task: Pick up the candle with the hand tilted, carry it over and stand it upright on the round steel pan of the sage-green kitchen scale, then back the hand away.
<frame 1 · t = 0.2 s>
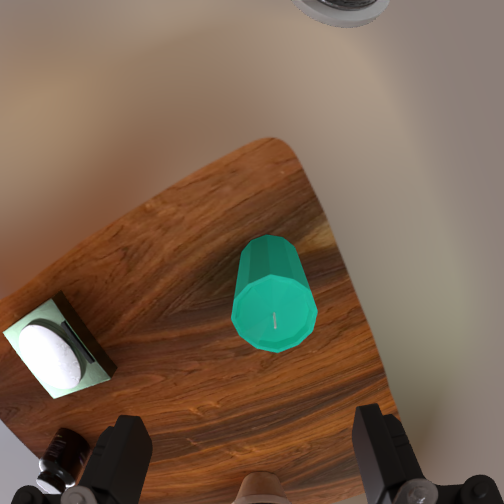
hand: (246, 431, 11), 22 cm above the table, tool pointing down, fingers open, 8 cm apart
potted plant: (260, 478, 44), on the table
scale: (59, 345, 36), on the table
supplement bottle: (74, 439, 43), on the table
candle: (269, 263, 32), on the table
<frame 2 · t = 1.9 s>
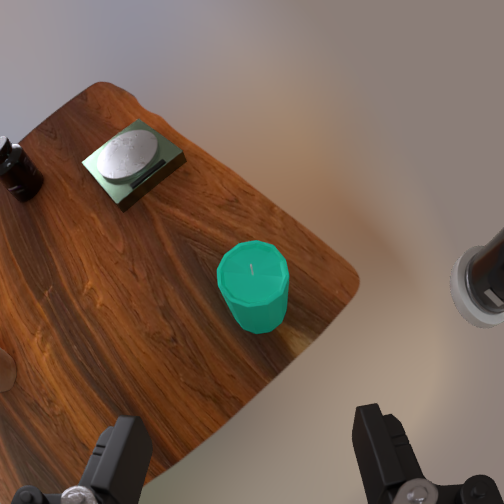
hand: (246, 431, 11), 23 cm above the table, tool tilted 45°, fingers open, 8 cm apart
potted plant: (5, 371, 34), on the table
scale: (133, 166, 47), on the table
supplement bottle: (31, 188, 49), on the table
candle: (259, 308, 36), on the table
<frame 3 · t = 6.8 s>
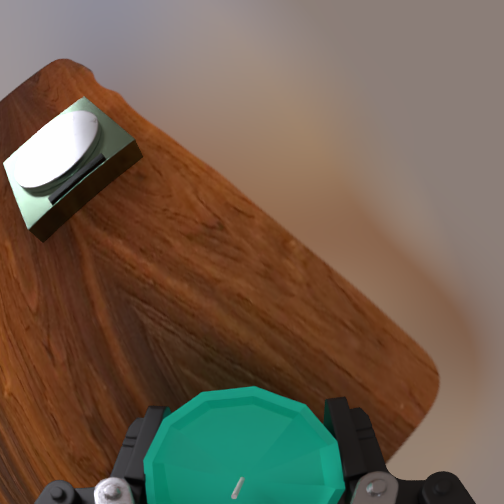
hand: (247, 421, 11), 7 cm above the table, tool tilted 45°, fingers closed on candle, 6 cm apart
scale: (68, 166, 28), on the table
candle: (260, 440, 17), on the table, touching gripper
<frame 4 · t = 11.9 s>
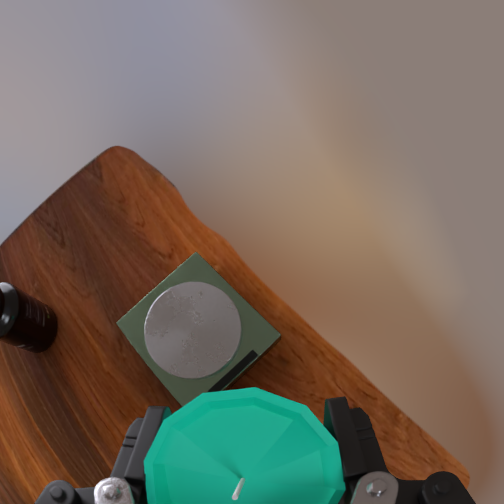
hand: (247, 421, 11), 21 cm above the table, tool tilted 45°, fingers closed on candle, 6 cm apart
scale: (198, 335, 34), on the table
supplement bottle: (41, 329, 35), on the table
candle: (259, 441, 17), point 14 cm above the table, touching gripper
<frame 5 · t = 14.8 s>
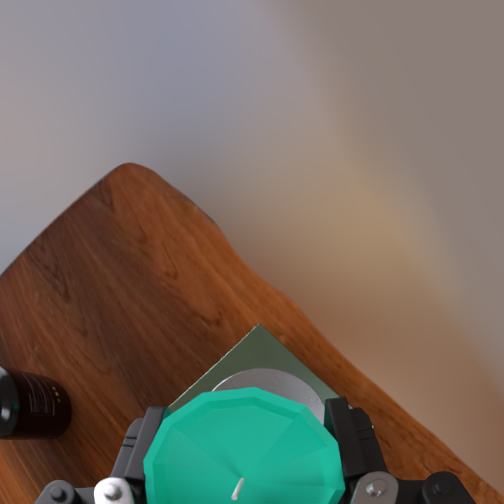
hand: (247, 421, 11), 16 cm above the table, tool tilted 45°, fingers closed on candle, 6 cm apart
scale: (264, 427, 24), on the table
supplement bottle: (50, 408, 26), on the table
candle: (259, 441, 17), point 8 cm above the table, touching gripper
when the fingers open (11 cm above the table, at t = 16.8 s): candle stays where it is, resting on scale.
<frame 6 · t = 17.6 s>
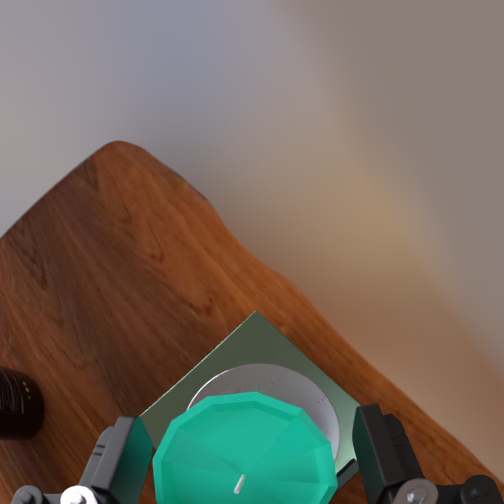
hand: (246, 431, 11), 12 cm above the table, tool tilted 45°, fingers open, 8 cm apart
scale: (262, 434, 20), on the table
supplement bottle: (23, 406, 22), on the table
candle: (259, 441, 18), point 3 cm above the table, touching scale
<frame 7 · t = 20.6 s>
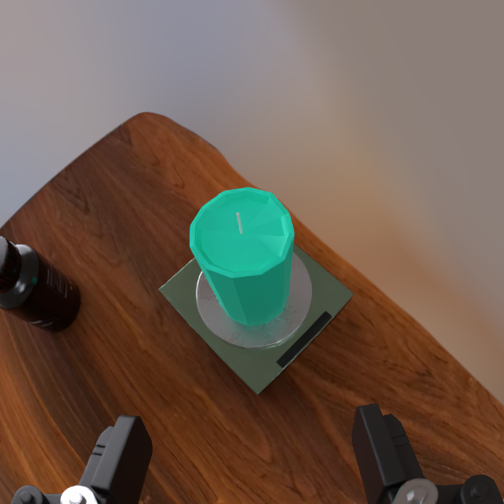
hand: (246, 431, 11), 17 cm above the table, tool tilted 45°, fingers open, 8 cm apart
scale: (255, 301, 31), on the table
supplement bottle: (60, 305, 32), on the table
candle: (253, 292, 28), point 3 cm above the table, touching scale
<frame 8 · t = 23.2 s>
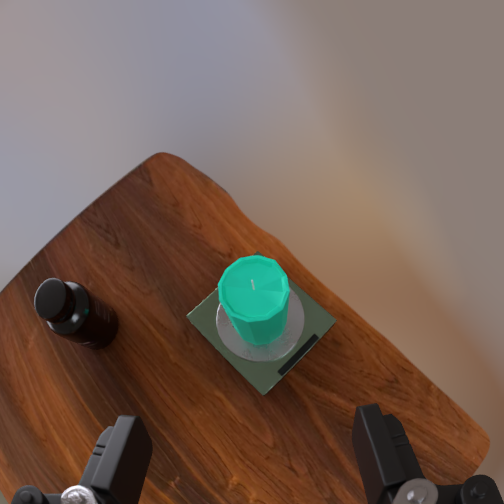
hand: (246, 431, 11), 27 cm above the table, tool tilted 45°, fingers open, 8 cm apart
scale: (261, 324, 39), on the table
supplement bottle: (99, 327, 40), on the table
candle: (260, 319, 36), point 3 cm above the table, touching scale
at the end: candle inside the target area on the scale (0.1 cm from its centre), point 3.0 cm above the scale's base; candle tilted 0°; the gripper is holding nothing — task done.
